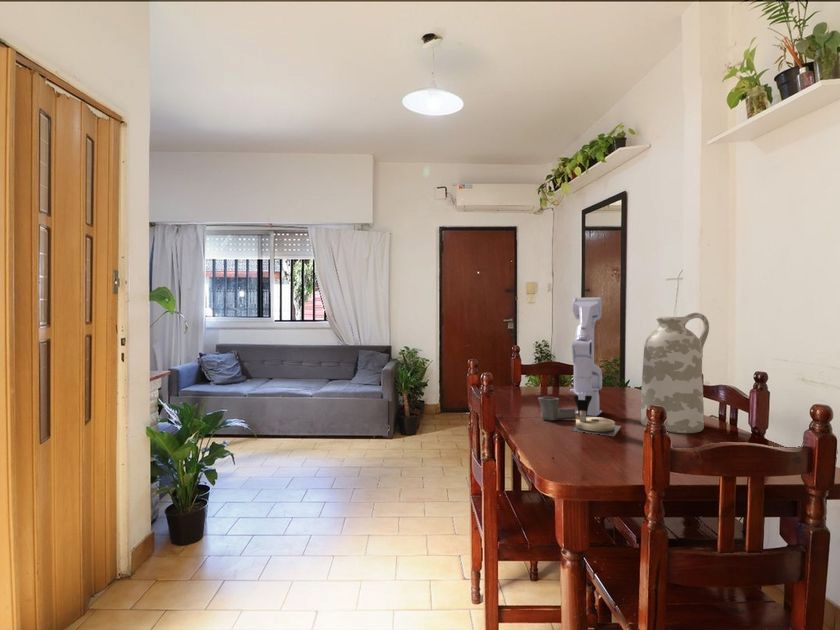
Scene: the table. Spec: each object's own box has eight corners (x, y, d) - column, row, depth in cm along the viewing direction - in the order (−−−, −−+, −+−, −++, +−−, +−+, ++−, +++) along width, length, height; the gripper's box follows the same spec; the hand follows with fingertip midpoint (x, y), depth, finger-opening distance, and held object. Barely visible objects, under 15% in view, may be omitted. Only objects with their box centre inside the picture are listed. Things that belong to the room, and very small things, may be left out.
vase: (644, 431, 151) (644, 312, 151) (637, 418, 169) (637, 312, 168) (716, 436, 145) (717, 312, 144) (701, 422, 162) (702, 312, 162)
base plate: (581, 422, 163) (581, 421, 163) (621, 426, 156) (621, 426, 156) (571, 430, 151) (571, 430, 151) (614, 436, 145) (614, 435, 145)
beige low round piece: (568, 425, 156) (568, 409, 156) (590, 420, 162) (590, 405, 162) (599, 433, 146) (599, 415, 146) (622, 428, 153) (622, 411, 152)
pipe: (576, 422, 164) (576, 399, 164) (539, 421, 164) (539, 399, 164) (572, 418, 170) (572, 396, 170) (536, 417, 170) (536, 396, 170)
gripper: (571, 373, 163) (571, 412, 163) (568, 379, 149) (568, 421, 150) (593, 374, 160) (593, 413, 160) (591, 380, 147) (592, 423, 147)
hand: (582, 417), depth 155 cm, fingers closed
